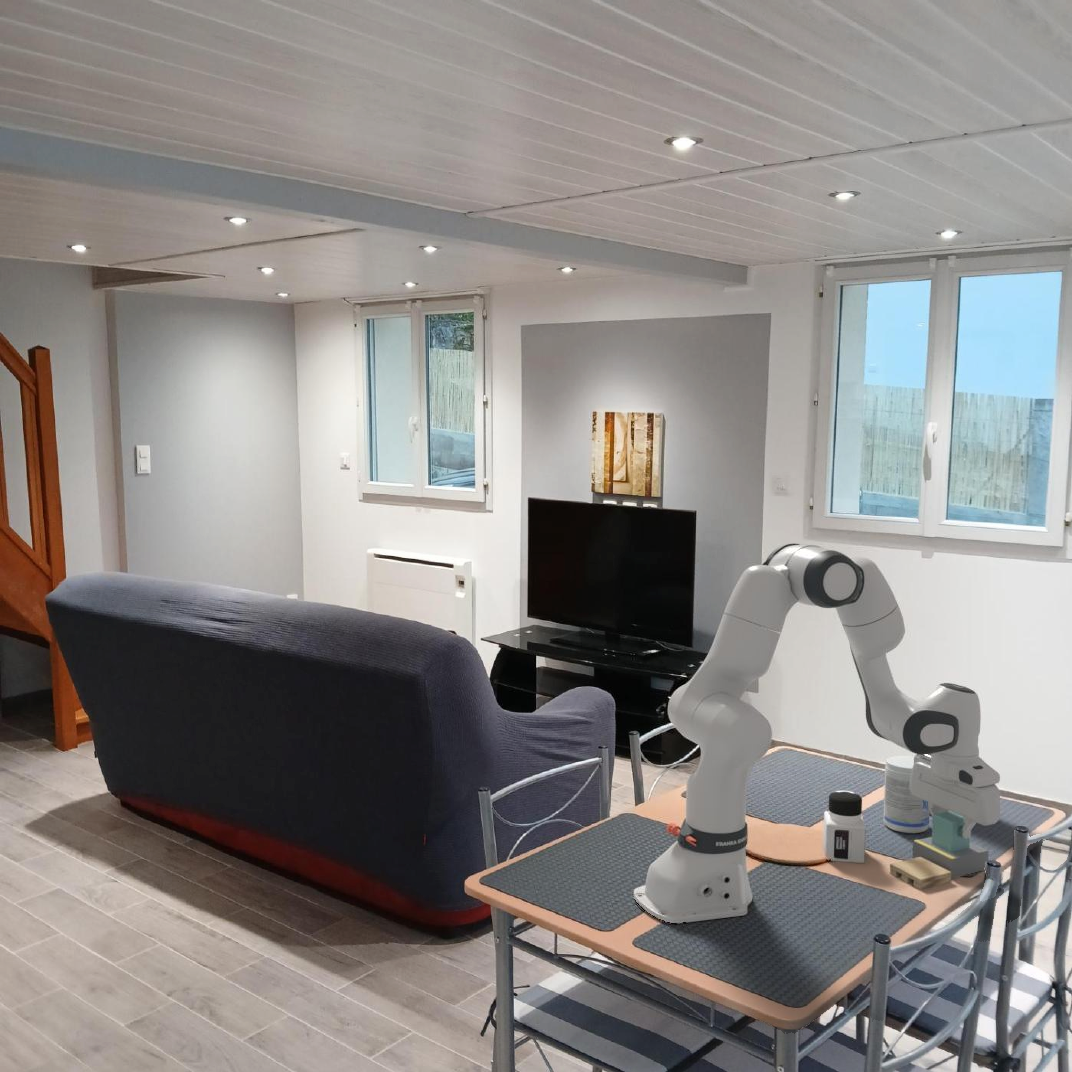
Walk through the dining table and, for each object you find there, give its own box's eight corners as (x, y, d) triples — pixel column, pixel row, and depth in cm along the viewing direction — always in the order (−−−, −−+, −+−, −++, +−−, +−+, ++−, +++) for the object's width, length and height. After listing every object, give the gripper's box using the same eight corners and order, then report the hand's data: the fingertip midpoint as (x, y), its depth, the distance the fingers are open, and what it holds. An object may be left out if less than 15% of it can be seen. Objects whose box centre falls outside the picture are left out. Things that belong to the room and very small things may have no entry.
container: (864, 864, 214) (867, 802, 213) (825, 860, 216) (827, 799, 214) (861, 848, 222) (863, 788, 220) (822, 845, 223) (824, 786, 222)
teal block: (950, 852, 210) (952, 823, 209) (931, 843, 215) (932, 814, 214) (969, 848, 212) (970, 819, 212) (949, 839, 217) (951, 810, 216)
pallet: (920, 889, 203) (920, 879, 202) (889, 873, 210) (890, 863, 209) (951, 881, 206) (951, 872, 206) (919, 866, 213) (920, 856, 213)
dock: (950, 879, 207) (951, 858, 207) (912, 859, 216) (913, 840, 216) (987, 869, 212) (988, 850, 211) (948, 851, 221) (949, 832, 220)
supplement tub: (932, 836, 228) (935, 770, 227) (887, 833, 230) (889, 767, 228) (923, 819, 238) (926, 756, 236) (879, 817, 239) (882, 753, 238)
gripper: (903, 751, 220) (900, 815, 221) (983, 782, 201) (980, 852, 203) (926, 747, 222) (923, 811, 224) (1007, 777, 204) (1003, 846, 205)
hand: (950, 831), depth 213 cm, fingers open, 5 cm apart
